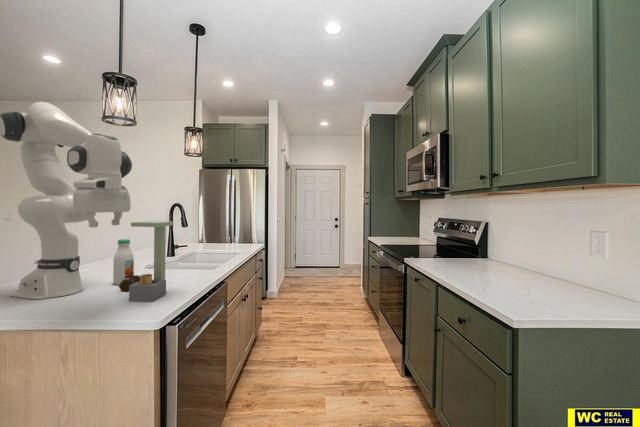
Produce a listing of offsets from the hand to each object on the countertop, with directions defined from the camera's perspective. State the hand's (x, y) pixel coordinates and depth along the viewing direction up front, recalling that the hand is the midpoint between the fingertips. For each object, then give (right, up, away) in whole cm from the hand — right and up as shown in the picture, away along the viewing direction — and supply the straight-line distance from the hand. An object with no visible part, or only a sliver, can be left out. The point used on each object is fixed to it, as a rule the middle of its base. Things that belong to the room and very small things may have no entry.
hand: (105, 226), depth 95 cm
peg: (+3, -29, +17) cm, 34 cm away
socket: (+4, -29, +18) cm, 34 cm away
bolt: (-12, -29, +32) cm, 44 cm away
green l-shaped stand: (+4, -29, +21) cm, 36 cm away
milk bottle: (-19, -28, +37) cm, 50 cm away
